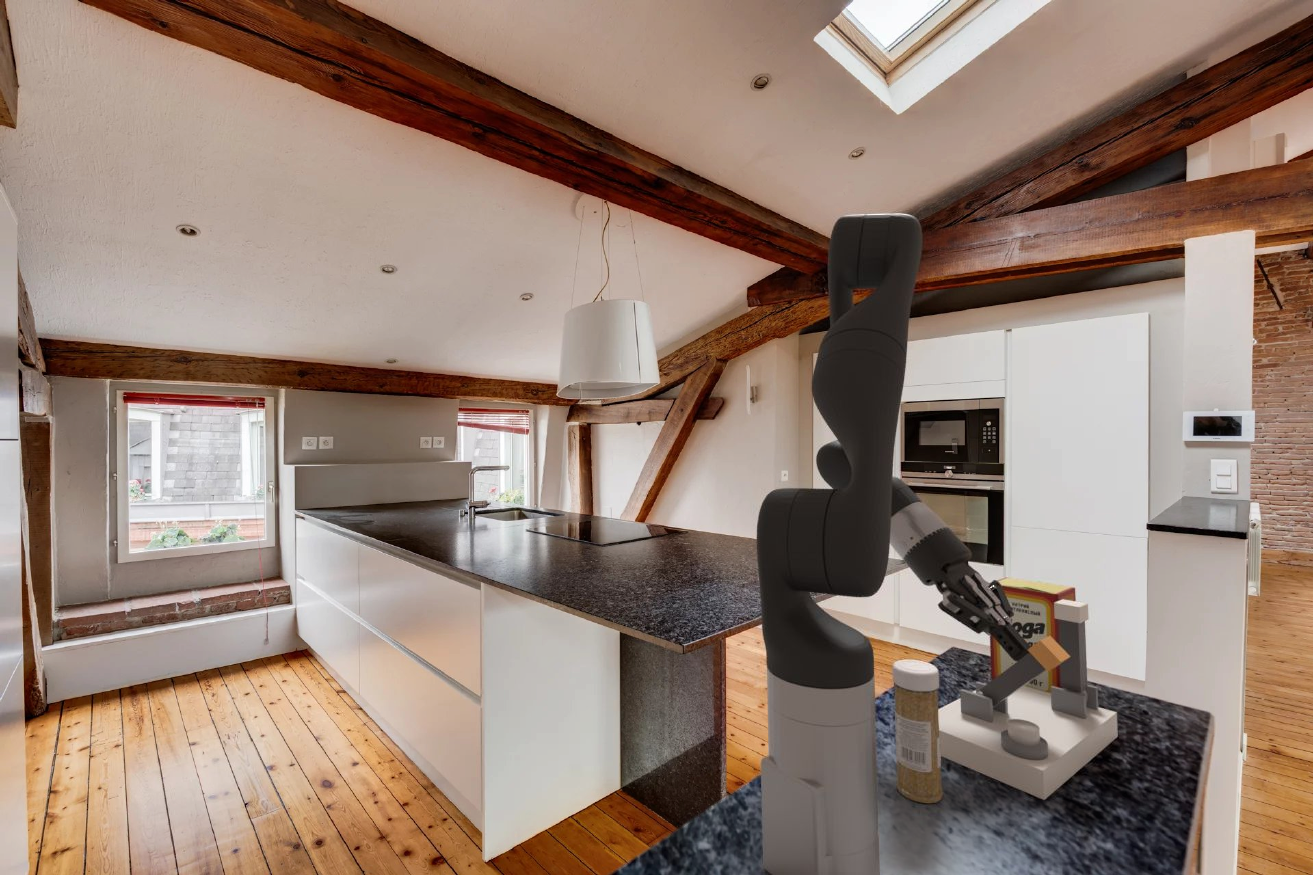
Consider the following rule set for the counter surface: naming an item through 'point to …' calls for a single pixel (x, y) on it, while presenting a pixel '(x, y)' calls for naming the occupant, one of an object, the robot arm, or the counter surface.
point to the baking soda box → (1031, 624)
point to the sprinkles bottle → (917, 730)
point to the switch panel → (1052, 729)
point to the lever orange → (1025, 670)
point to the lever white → (1073, 644)
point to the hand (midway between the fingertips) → (1025, 656)
